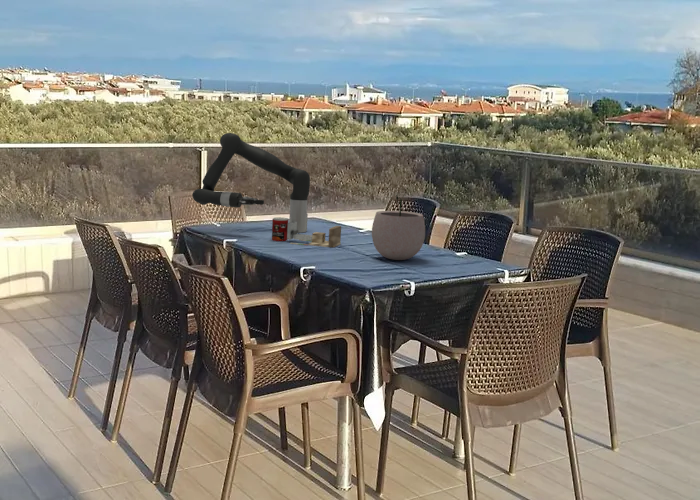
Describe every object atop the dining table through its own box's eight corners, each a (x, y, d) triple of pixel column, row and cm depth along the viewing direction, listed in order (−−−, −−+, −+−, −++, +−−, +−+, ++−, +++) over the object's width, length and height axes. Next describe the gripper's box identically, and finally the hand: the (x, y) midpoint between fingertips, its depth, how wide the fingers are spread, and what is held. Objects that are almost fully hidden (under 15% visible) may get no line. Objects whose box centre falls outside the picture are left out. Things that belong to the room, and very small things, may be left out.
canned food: (269, 240, 402) (269, 218, 400) (276, 238, 409) (277, 216, 408) (282, 242, 399) (283, 219, 398) (290, 240, 407) (291, 218, 405)
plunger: (287, 239, 398) (287, 223, 397) (293, 237, 407) (294, 221, 406) (310, 241, 395) (311, 225, 394) (316, 239, 404) (317, 223, 402)
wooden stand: (289, 243, 395) (290, 225, 394) (300, 239, 409) (300, 222, 408) (332, 248, 389) (333, 229, 388) (341, 243, 404) (342, 225, 402)
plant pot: (415, 255, 382) (420, 191, 377) (429, 264, 358) (434, 196, 354) (365, 254, 377) (369, 189, 373) (376, 263, 354) (380, 194, 349)
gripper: (226, 192, 402) (258, 195, 397) (237, 191, 414) (268, 194, 410) (225, 208, 403) (258, 211, 398) (236, 205, 415) (268, 208, 411)
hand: (263, 202), depth 404 cm, fingers closed
